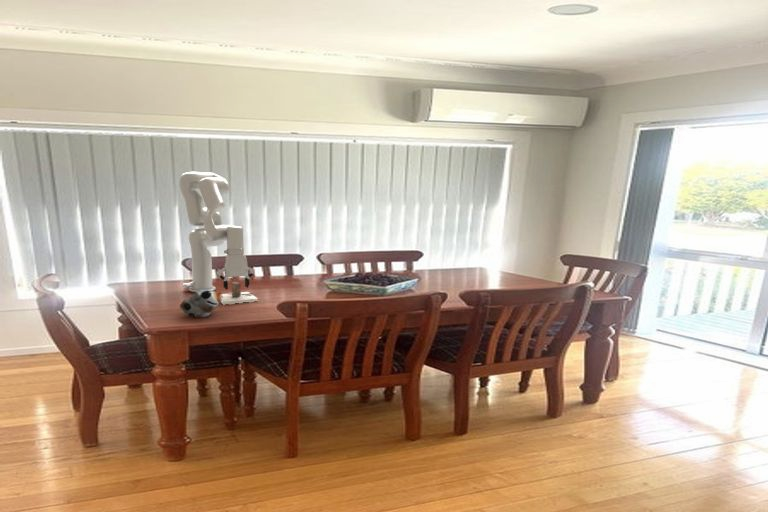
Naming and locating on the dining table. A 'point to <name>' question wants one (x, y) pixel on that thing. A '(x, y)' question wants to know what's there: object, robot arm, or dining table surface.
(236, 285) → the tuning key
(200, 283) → the robot arm
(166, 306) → the dining table surface
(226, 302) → the dial board
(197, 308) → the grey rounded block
